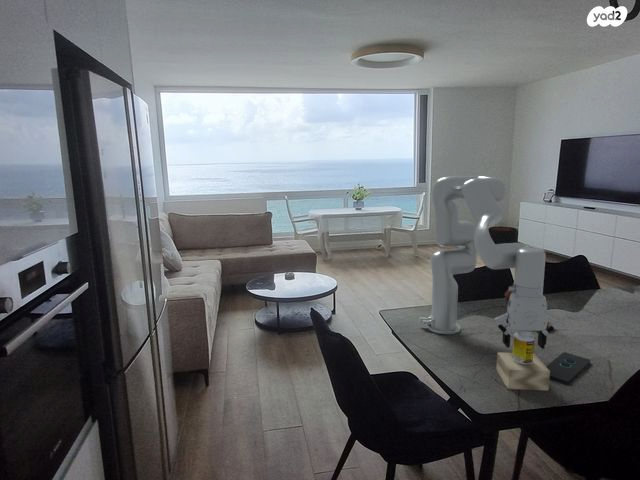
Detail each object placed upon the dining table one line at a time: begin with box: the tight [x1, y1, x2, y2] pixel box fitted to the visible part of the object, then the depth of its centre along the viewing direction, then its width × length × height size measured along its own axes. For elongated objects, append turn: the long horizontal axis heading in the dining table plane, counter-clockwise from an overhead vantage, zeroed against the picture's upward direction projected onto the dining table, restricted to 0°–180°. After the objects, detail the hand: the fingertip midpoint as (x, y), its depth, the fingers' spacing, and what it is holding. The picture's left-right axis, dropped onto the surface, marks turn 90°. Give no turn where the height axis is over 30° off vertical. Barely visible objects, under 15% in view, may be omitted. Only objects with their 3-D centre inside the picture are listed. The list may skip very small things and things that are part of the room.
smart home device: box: [545, 352, 591, 386], centre depth 128 cm, size 8×2×20 cm
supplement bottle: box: [512, 330, 536, 365], centre depth 120 cm, size 6×6×10 cm
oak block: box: [495, 351, 550, 392], centre depth 122 cm, size 11×11×6 cm
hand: (523, 346), depth 120 cm, fingers open, 9 cm apart
